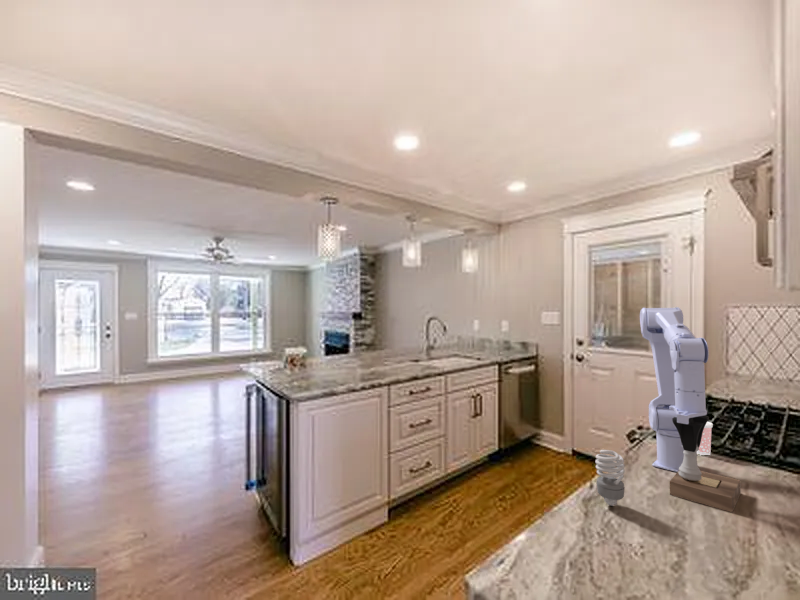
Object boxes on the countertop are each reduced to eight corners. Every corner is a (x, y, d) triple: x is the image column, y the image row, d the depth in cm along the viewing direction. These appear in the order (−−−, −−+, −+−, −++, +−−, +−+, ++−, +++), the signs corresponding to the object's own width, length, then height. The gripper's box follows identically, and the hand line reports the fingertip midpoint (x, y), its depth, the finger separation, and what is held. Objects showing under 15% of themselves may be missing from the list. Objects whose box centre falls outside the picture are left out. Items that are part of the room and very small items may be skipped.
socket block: (682, 478, 98) (682, 466, 98) (740, 493, 89) (740, 480, 90) (669, 494, 89) (669, 481, 89) (732, 512, 81) (731, 497, 81)
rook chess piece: (705, 483, 88) (706, 447, 88) (683, 480, 89) (683, 445, 89) (696, 474, 92) (696, 440, 92) (674, 471, 93) (675, 438, 93)
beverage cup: (683, 448, 118) (681, 402, 118) (705, 449, 117) (703, 402, 117) (695, 456, 112) (693, 407, 112) (719, 457, 111) (717, 407, 111)
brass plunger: (694, 478, 93) (694, 474, 93) (720, 485, 89) (720, 480, 89) (689, 485, 90) (689, 480, 90) (716, 492, 86) (716, 487, 86)
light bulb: (590, 502, 86) (589, 448, 87) (608, 497, 88) (606, 444, 89) (613, 514, 81) (611, 456, 81) (631, 509, 83) (630, 452, 84)
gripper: (677, 383, 98) (679, 437, 98) (660, 392, 89) (662, 452, 88) (712, 387, 93) (714, 444, 93) (698, 397, 83) (700, 460, 83)
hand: (691, 448), depth 90 cm, fingers closed on rook chess piece, 3 cm apart
